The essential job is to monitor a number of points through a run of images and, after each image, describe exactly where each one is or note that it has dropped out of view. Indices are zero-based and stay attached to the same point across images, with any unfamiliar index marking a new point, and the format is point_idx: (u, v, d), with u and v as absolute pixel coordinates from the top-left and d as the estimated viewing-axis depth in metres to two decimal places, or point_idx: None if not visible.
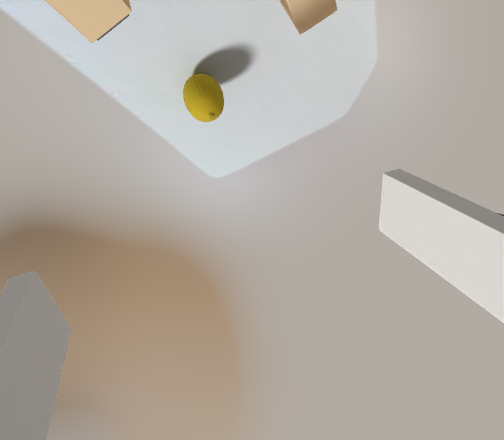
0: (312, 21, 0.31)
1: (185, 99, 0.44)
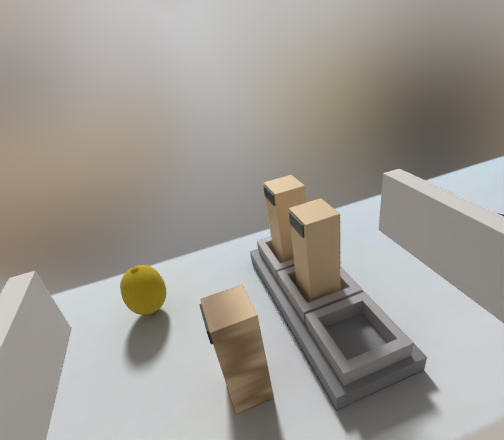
0: (209, 308, 0.27)
1: None
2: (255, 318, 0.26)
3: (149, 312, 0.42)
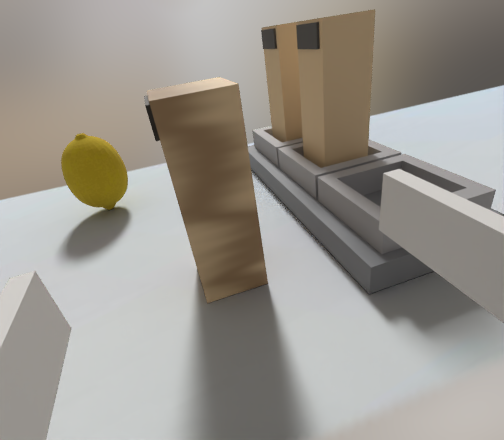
0: (157, 92, 0.16)
1: None
2: (235, 91, 0.14)
3: (101, 200, 0.30)
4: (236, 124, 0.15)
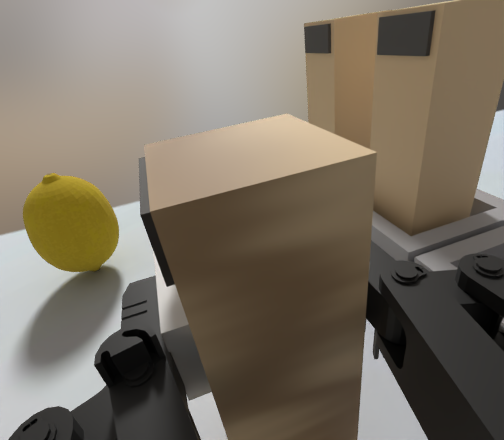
0: (168, 157, 0.07)
1: None
2: (365, 170, 0.06)
3: (81, 265, 0.22)
4: (354, 238, 0.06)
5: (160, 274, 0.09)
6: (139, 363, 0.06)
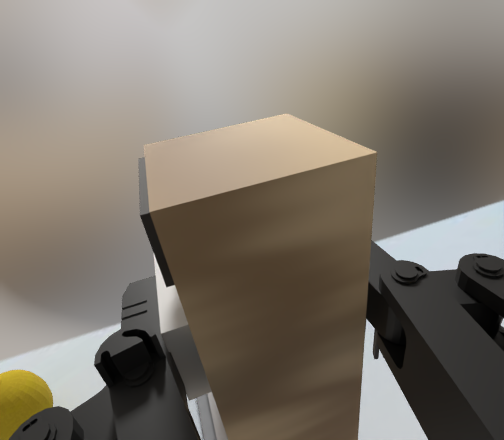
0: (167, 157, 0.07)
1: None
2: (366, 170, 0.06)
3: None
4: (355, 239, 0.06)
5: (160, 274, 0.09)
6: (139, 363, 0.06)
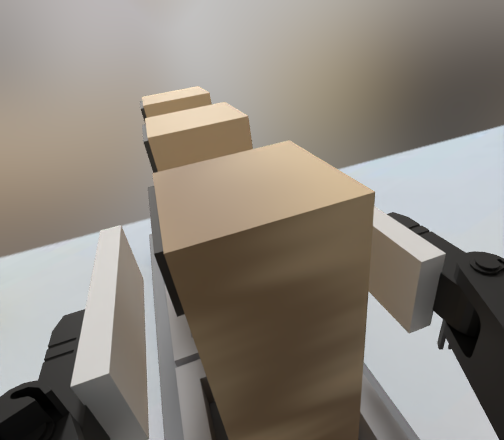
0: (176, 189, 0.07)
1: None
2: (364, 208, 0.06)
3: None
4: (354, 269, 0.07)
5: (90, 309, 0.08)
6: (34, 426, 0.06)
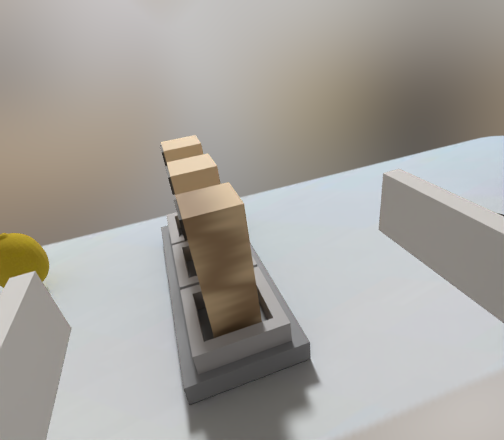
0: (184, 201, 0.22)
1: None
2: (241, 208, 0.21)
3: None
4: (241, 228, 0.21)
5: None
6: None
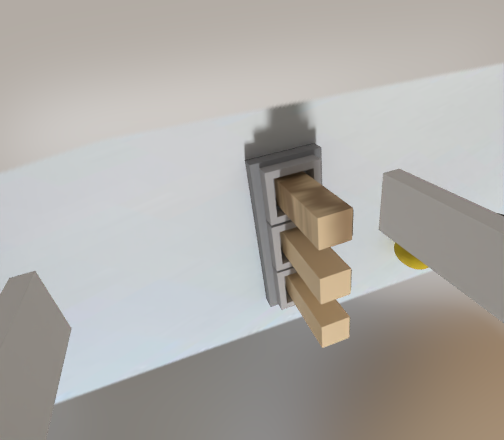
0: (348, 229, 0.34)
1: (405, 264, 0.55)
2: (317, 216, 0.32)
3: None
4: (312, 210, 0.33)
5: None
6: None
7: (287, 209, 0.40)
